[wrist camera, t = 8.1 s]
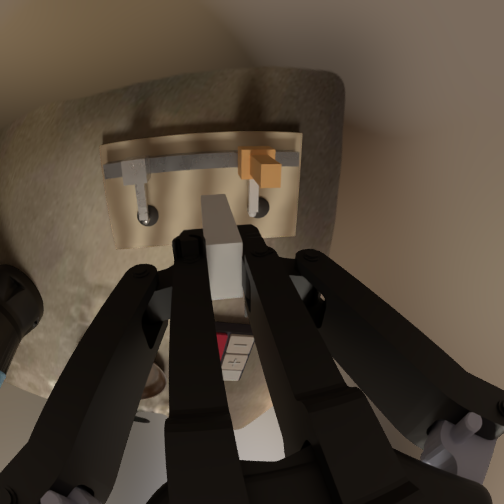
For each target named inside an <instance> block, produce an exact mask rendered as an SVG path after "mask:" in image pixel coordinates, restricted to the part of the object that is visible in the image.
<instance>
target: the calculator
mask: <svg viewBox="0 0 504 504" xmlns="http://www.w3.org/2000/svg"><path fill="white" fill-rule="evenodd" d="M215 327H216V334H217V341H218V348H219V355H220V361H221V367H222V373H223V380H231V381H238V380H240V378H241V375H242V373H243V370H244V368H245V365H246V362H247V360H248V357H249V355H250V352H251V349H252V347H253V344H254V342H255V340H254V336H253V333H252V329H251V326H250V325H247V324H235V323H224V322H215Z"/></svg>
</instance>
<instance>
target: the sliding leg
mask: <svg viewBox="0 0 504 504" xmlns="http://www.w3.org/2000/svg"><path fill="white" fill-rule="evenodd" d="M275 152H276V150H275V149H274V148H272V147H270V146H238V175H239V176H240V178H241V180H245V179H249V183H248V208H247V212H248V214H249V216H250V217H254V216H256V212H258V197H259V187H260V188H281V166H282V164H281V163H279V162H278V161H276V160H275Z"/></svg>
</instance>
